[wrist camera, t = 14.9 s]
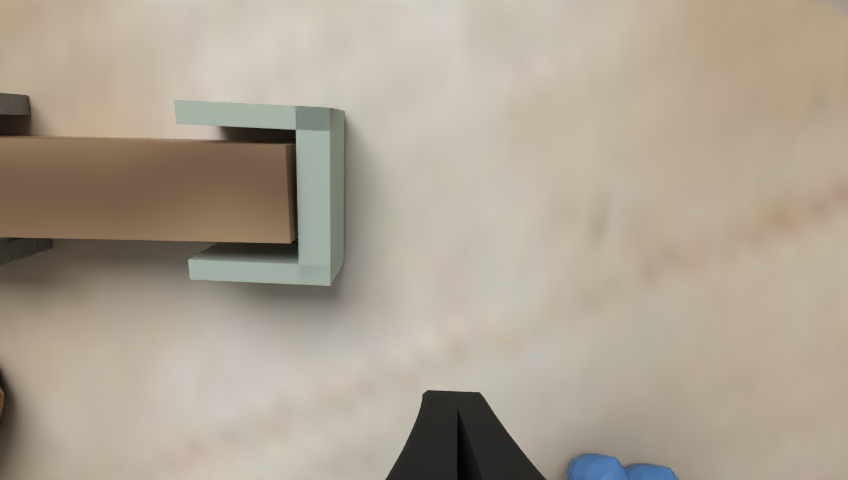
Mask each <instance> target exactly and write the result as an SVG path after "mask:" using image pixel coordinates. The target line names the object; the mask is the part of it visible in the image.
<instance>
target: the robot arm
mask: <svg viewBox="0 0 848 480" xmlns="http://www.w3.org/2000/svg"><path fill="white" fill-rule="evenodd" d="M386 480H546V479H545V478H544V477H543V476H542V474H541V473H540V472H539V471H538V470H537V469H536V468H535V466H534V465H533V464H532V463H531V462H530V460H529V459H528V458H527V457H526V455H525V454H524V453H523V452H522V450H521V449H520V448H519V446H518V445H517V444H516V443H515V441H514V440H513V439H512V437H511V436H510V435H509V433H508V432H507V431H506V429H505V428H504V427H503V425H502V424H501V422H500V421H499V419H498V418H497V417H496V415H495V414H494V412H493V411H492V409H491V408H490V406H489V405H488V403H487V402H486V400H485V398H484V397H483V396H482V395H481V394H480V392H457V391H434V390H427V391H426V392H425V393H424V394H423V397H422V403H421V407H420V411H419V414H418V417H417V419H416V422H415V424H414V427H413V429H412V431H411V433H410V435H409V438H408V440H407V442H406V444H405V446H404V448H403V450H402V452H401V454H400V456H399V457H398V459H397V461H396V463H395V464H394V466H393V468H392V470H391V471H390V473H389V475H388V477H387V478H386Z"/></svg>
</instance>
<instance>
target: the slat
mask: <svg viewBox="0 0 848 480" xmlns="http://www.w3.org/2000/svg"><path fill="white" fill-rule="evenodd" d="M0 237H18V238H65V239H111V240H157V241H203V242H249V243H291V242H293V241H294V240H295V239H296V238H297V237H298V205H297V160H296V142H283V141H239V140H195V139H151V138H107V137H63V136H19V135H0Z"/></svg>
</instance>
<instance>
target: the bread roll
mask: <svg viewBox="0 0 848 480" xmlns="http://www.w3.org/2000/svg"><path fill="white" fill-rule="evenodd" d="M5 395H6V394H5V393H4V392H3V390H2V389H1V387H0V420H1V413H2V409H3V407H4V405H5Z"/></svg>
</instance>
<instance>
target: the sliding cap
mask: <svg viewBox="0 0 848 480" xmlns="http://www.w3.org/2000/svg"><path fill="white" fill-rule="evenodd" d="M174 102H175V113H176V124H191V125H211V126H231V127H252V128H272V129H292V130H296V160H297V205H298V244H294V243H249V242H219V243H217V244H215V245H213V246H212V247H210V248H208V249H206V250H204V251H203V252H201V253H199V254H197V255H195V256H194V257H192V258H190V259H188V264H189V276H190V280H211V281H233V282H255V283H278V284H300V285H322V286H331V284H332V282H333V281H334V279H335V277H336V276H337V274H338V272H339V271H340V269H341V267H342V265H343V264H344V135H345V111H343V110H338V109H333V108H324V107H303V106H283V105H263V104H243V103H223V102H203V101H183V100H174Z"/></svg>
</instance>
